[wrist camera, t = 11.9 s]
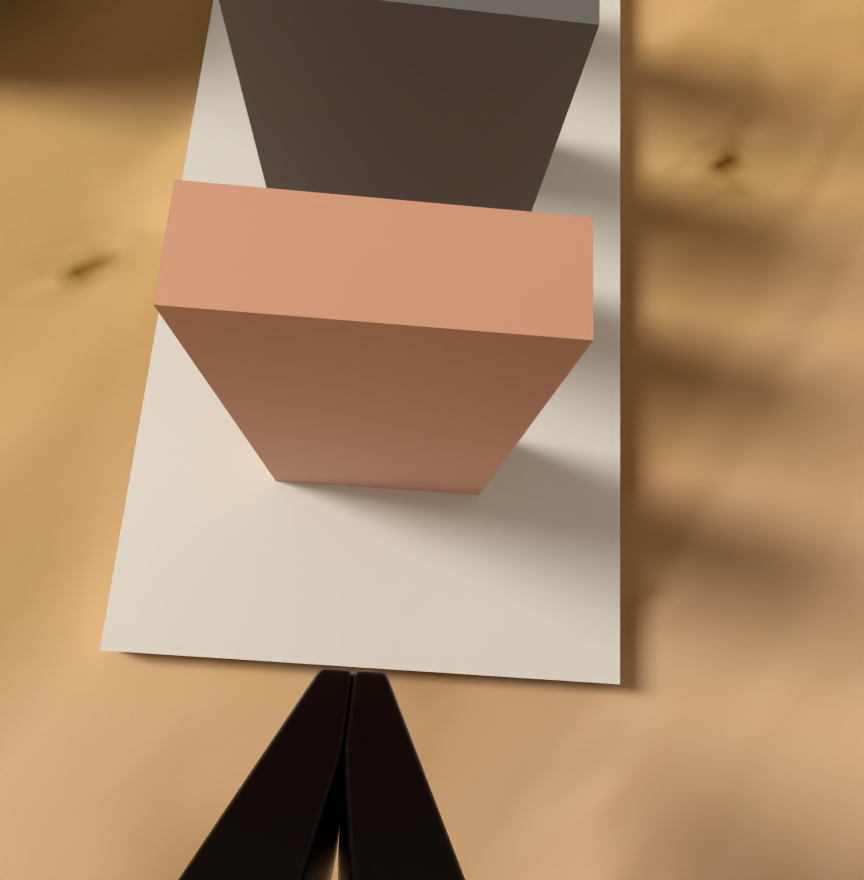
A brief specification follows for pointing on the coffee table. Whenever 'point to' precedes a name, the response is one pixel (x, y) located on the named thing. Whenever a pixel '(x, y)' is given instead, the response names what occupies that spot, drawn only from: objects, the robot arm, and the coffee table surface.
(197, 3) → the coffee table surface
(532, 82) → the domino
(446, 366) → the domino
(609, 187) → the domino board
